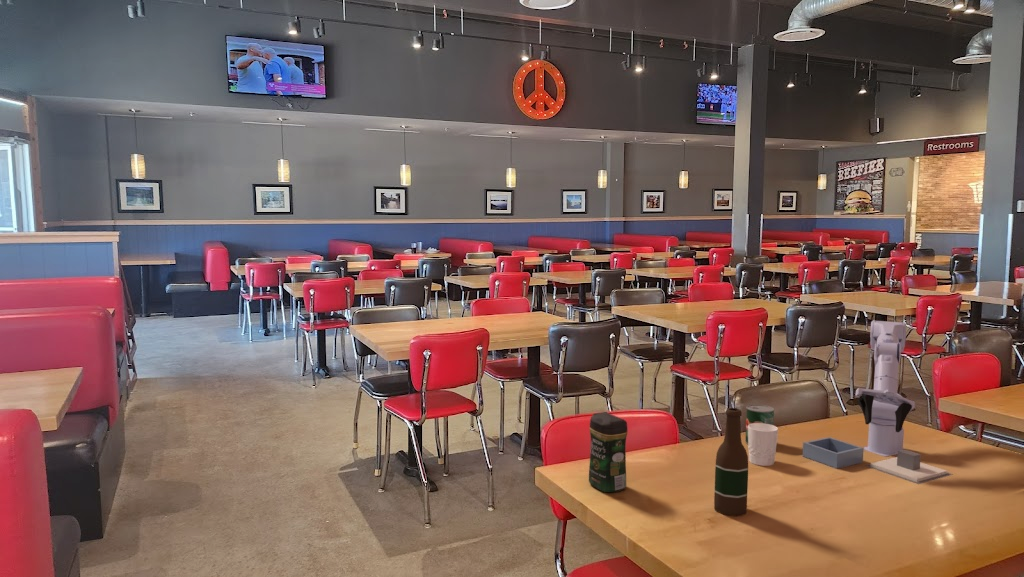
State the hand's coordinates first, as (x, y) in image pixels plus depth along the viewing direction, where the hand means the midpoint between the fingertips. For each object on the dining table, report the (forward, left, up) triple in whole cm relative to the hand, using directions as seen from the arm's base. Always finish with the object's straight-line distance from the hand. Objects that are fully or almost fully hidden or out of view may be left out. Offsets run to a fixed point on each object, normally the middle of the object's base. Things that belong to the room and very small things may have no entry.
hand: (883, 426), depth 187 cm
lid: (-8, +3, -12) cm, 15 cm away
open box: (+3, -12, -13) cm, 18 cm away
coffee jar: (+71, -26, -13) cm, 77 cm away
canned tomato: (+10, -33, -13) cm, 37 cm away
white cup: (+22, -21, -13) cm, 33 cm away
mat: (-8, +3, -13) cm, 15 cm away
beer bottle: (+54, -1, -13) cm, 55 cm away
